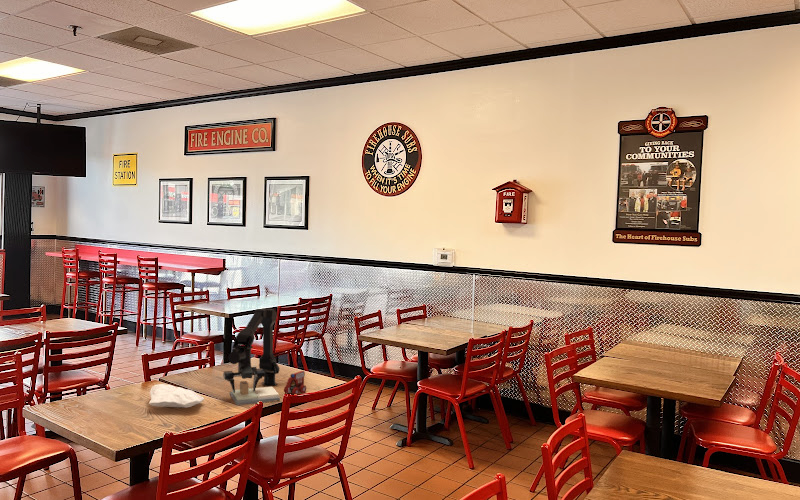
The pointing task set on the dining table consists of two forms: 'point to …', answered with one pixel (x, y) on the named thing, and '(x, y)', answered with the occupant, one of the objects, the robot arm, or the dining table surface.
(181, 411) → the dining table surface
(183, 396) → the white rock
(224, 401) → the dining table surface
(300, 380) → the toy fire truck
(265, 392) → the board
